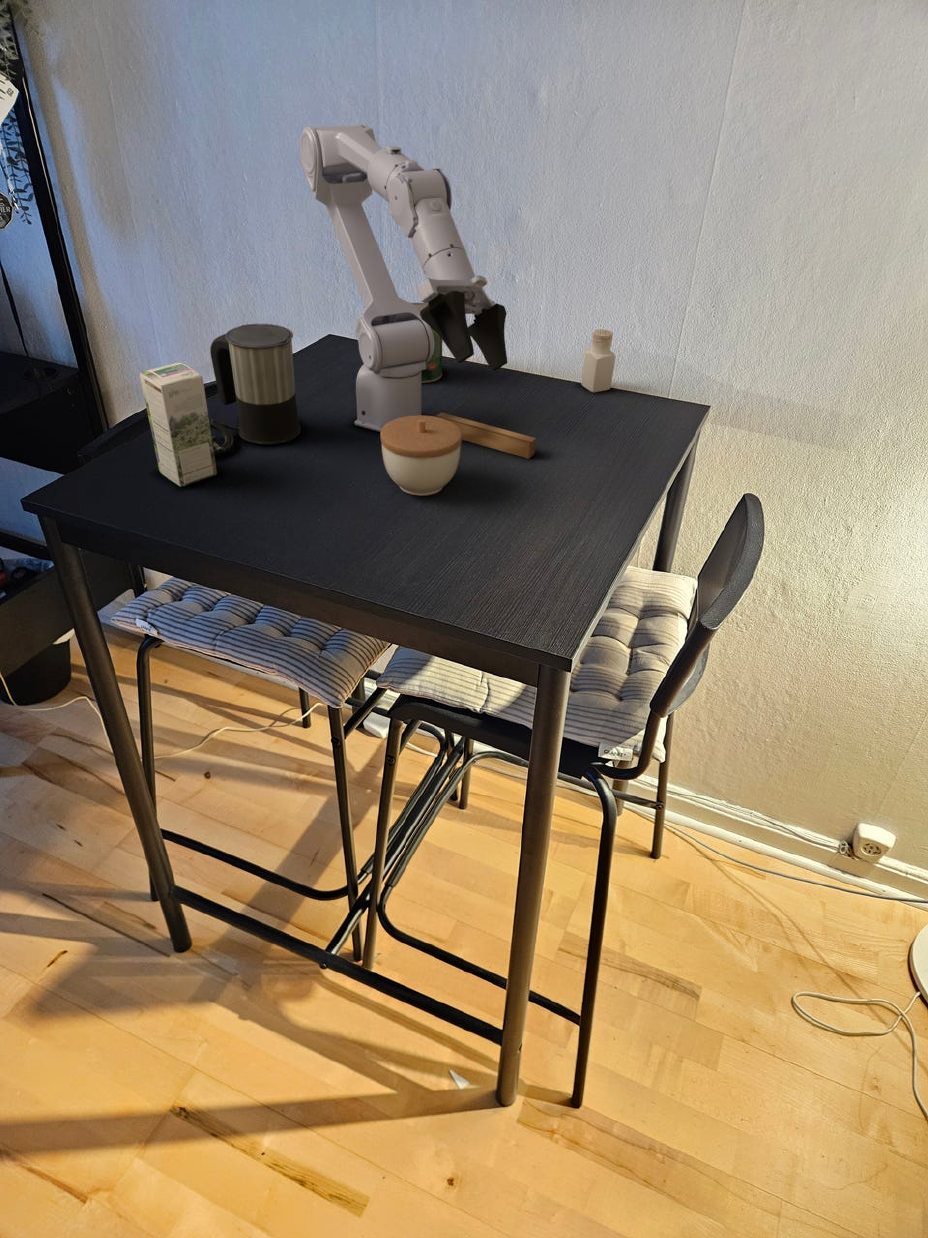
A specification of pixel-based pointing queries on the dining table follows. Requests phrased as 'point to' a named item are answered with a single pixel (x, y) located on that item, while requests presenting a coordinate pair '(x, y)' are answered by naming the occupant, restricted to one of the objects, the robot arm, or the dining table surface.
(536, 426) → the dining table surface
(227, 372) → the milk frother
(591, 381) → the pepper shaker
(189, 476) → the syrup box
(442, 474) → the trinket box
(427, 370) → the canned tomato
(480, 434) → the rail
